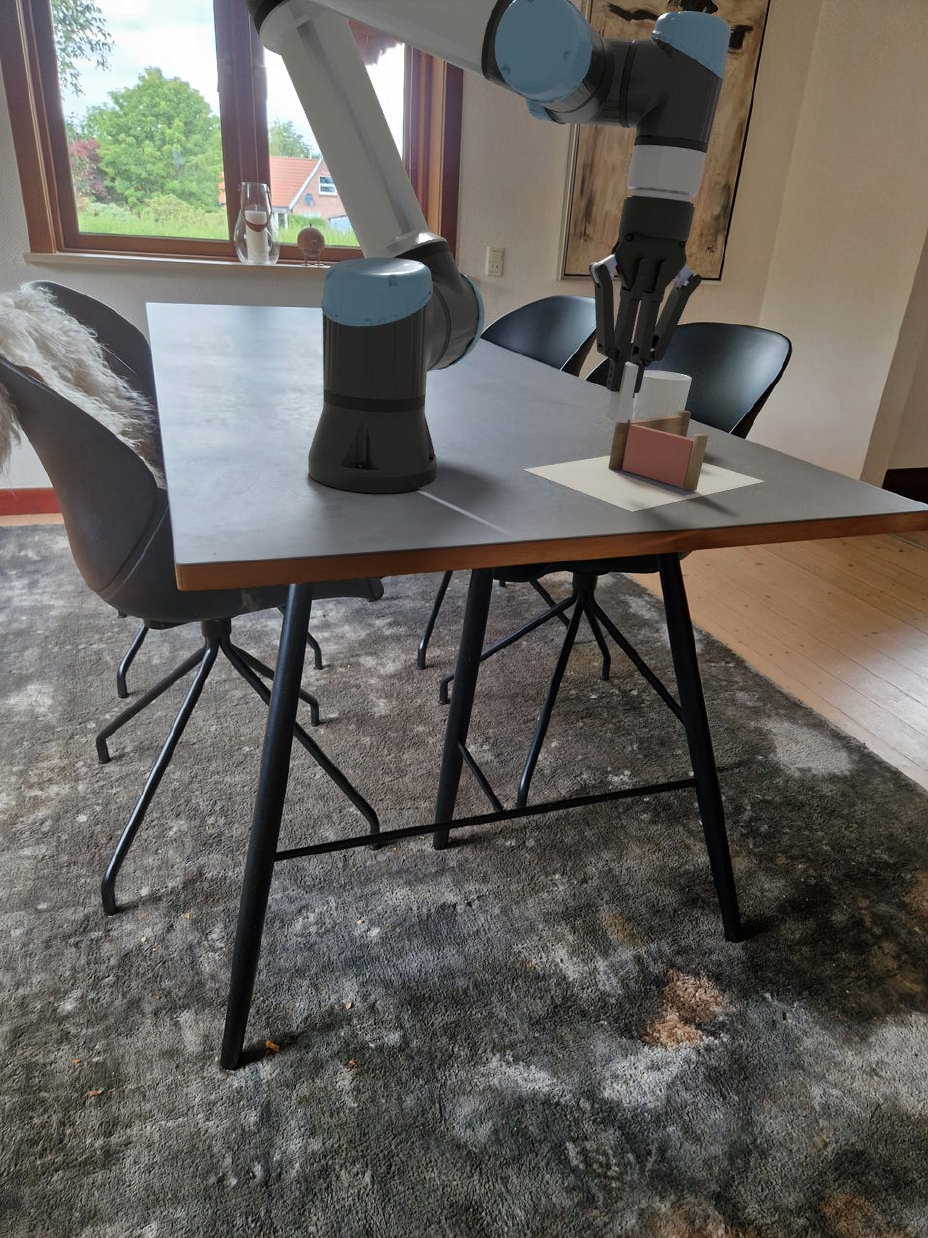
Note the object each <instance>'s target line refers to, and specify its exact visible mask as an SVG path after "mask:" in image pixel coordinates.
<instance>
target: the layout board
mask: <svg viewBox="0 0 928 1238" xmlns="http://www.w3.org/2000/svg"><path fill="white" fill-rule="evenodd" d="M609 461H610V455H604V456H598V457H592V458H586V459H581V460H574V461H568V462H567V461H566V462H563V463H562V462H561V463H555V464H549V465H543V466H535V467H530V468H523V469H522V470H523V471H525V472H528V473H530V474H532V475H535V476H538V477H540V478H543V479H545V480H548V481H550V482H553V483H555V484H558V485H561V486H563V487H567V488H569V489H571V490H574V491H577V492H579V493H582V494H585V495H588V496H589V497H591V498H594V499H597V500H599V501H603V502H605V503H608V504H610V505H613V506H615V507H617V508H620V509H623V510H625V511H628V512H631V513H634V512H638V511H643V510H648V509H652V508H657V507H660V506H665V505H669V504H673V503H677V502H681V501H687V500H691V499H695V498H701V497H704V496H709V495H715V494H717V493H722V492H726V491H730V490H735V489H740V488H743V487H744V488H745V487H748V486H752V485H757V484H761V483H765V482H766V481H765V480H762V479H758V478H755V477H753V476H749V475H747V474H743V473H740V472H737V471H733V470H730V469H726V468H723V467H720V466H717V465H714V464H710V463H707V462H704V461H703V463H702V468H701V472H700V477H699V482H698V486H697V490H695V491H691V490H686V489H684V488H682V487H679V486H675V485H672V484H668V483H665V482H662V481H658V480H655V479H652V478H648V477H645V476H642V475H638V474H635V473H632V472H628V471H625V470H613V469H609V468H608V467H609Z"/></svg>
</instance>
